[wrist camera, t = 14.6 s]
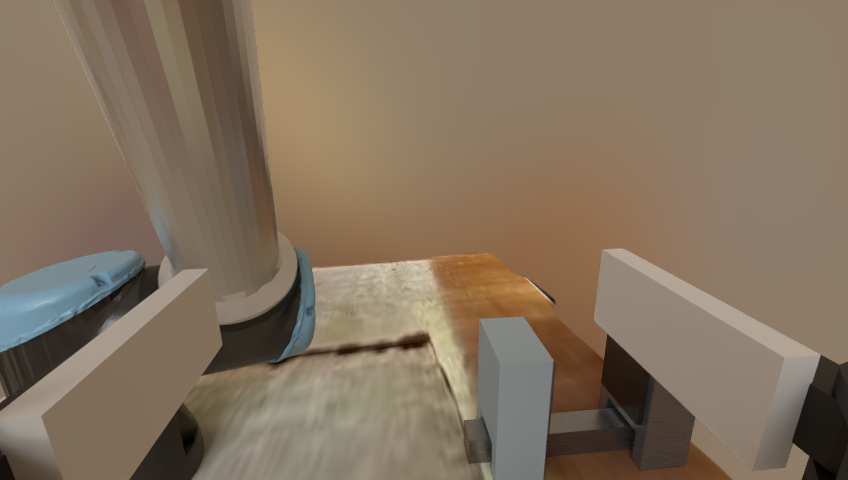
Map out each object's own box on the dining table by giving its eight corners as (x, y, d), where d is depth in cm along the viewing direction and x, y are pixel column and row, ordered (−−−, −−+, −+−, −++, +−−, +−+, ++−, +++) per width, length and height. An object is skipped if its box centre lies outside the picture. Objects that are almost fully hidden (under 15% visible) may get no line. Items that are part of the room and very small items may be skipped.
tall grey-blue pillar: (548, 479, 41) (559, 359, 37) (494, 484, 41) (500, 363, 37) (521, 419, 49) (528, 316, 45) (476, 423, 49) (479, 319, 45)
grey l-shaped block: (474, 486, 40) (477, 365, 36) (459, 424, 49) (460, 320, 45) (685, 465, 42) (710, 348, 38) (636, 409, 51) (652, 308, 47)
